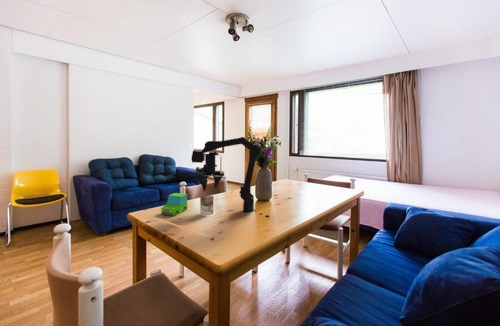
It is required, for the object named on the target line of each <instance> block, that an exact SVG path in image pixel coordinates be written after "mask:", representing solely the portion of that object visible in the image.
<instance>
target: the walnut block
mask: <svg viewBox="0 0 500 326" xmlns="http://www.w3.org/2000/svg"><path fill="white" fill-rule="evenodd" d="M199 197H200V199H199V200H200V202H199V206H200V205H202V206H206V207H208V206H211V205H213V206H214V195H211V194H203V195H200V196H199Z"/></svg>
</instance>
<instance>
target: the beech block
mask: <svg viewBox="0 0 500 326" xmlns="http://www.w3.org/2000/svg"><path fill="white" fill-rule="evenodd" d="M199 209H200V210H199V211H200V212H199V213H200V214H202V215H206V216H208V215H210V216H212V215H211V214H213V213H214V204H213V205H211V206H208V207H206V206H202V205H200V204H199ZM202 215H201V216H202ZM213 215H214V214H213ZM206 216H205V217H206ZM208 217H209V216H208Z"/></svg>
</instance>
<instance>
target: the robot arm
mask: <svg viewBox="0 0 500 326" xmlns="http://www.w3.org/2000/svg"><path fill="white" fill-rule="evenodd" d="M239 145H242V146H244V147H245V148H246V149H247V150H248V151H249V152H248V153H249V156H248V157H249V158H248V165H247V170H246V175H245V179H244V183H243V184H240V190H239V192H238V193H239V195H240V196H239V197H240V198H241V199H242V200H243V204H242V213H243V212H244V213H252V212H256V211H257V210H255V209H254V207H255V205H254V204H255V196H254V195H253V194H252V193H251V192H252V191H251V188H252V187H251V183H252V179H253V174H254V169H255V164H256V161H257V158H258V156H259V154H260V149H261V148H260V147H259V145H258V144H255V143H254V144H253V142H251V141H249V140H248V139H247V138H245V137H244V136H241V137H237V138H232V139H231V138H230V139H225V140H208V141H206V142H205V143H204V147H203V148H202V150H192V154H191V163H196V164H197V163H199V164H200V163H203V162H205V163H204V164H203V166H202V167H201V166H196V167H195V172H196V174H195V175H194V178H195V179H194V180H197V181H199V182H200V184H201V187H202V190H203V192H206V191H207V187H208V178H209V177H212V178H213V181H214V186H213V187H214V189H217V188H218V186H219V184H220V182H221V180H222V178H223V177H224V176H225V172H224V170H216V168H217V167H218V165H217V164H216V156H219V152H218V151H217V150H218V149H220V148H226V147H231V146H239Z"/></svg>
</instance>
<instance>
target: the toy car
mask: <svg viewBox="0 0 500 326" xmlns="http://www.w3.org/2000/svg"><path fill="white" fill-rule="evenodd" d="M160 208H161V209H160V211H161V213H160V214H161V215H165V216H166V215H167V216H173V217H174V216H175V217H176V216H178V215H179V214H181V213H183V212H186V211H187V210H188V194H187V193H180V192H173V193H170V194H169V195H168V197H167V202H165V205H163V206H162V207H160Z"/></svg>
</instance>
